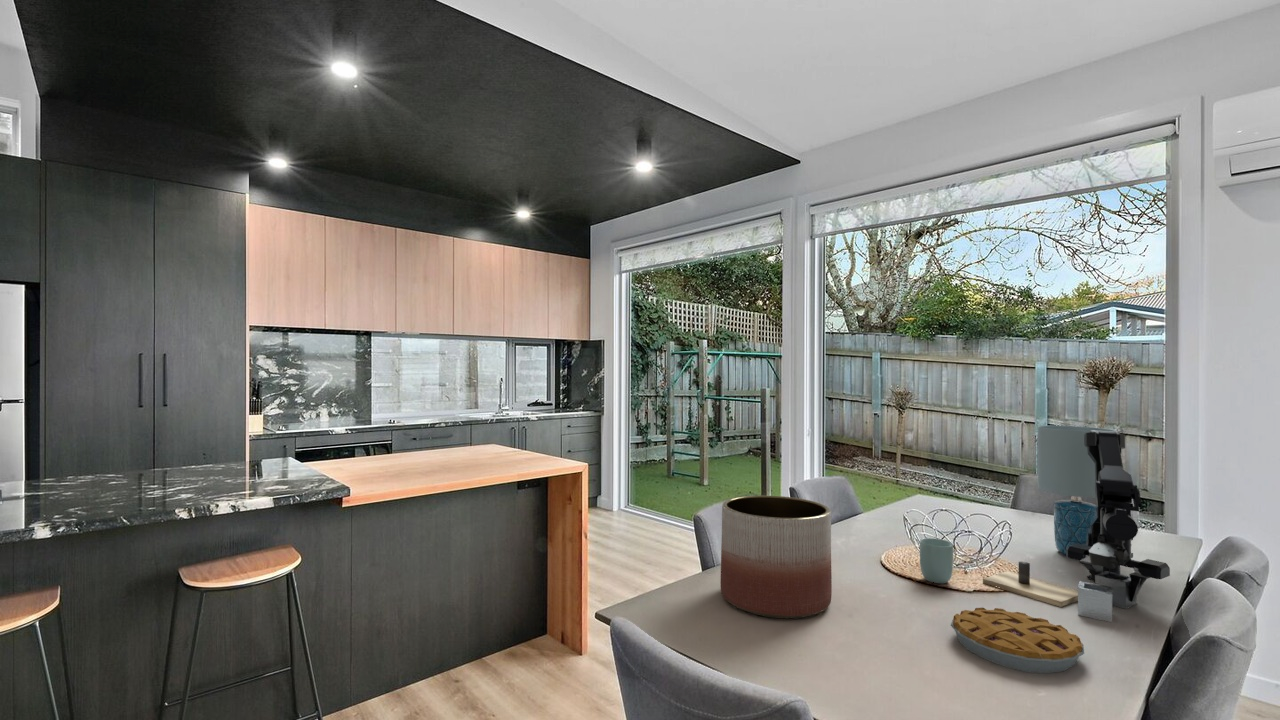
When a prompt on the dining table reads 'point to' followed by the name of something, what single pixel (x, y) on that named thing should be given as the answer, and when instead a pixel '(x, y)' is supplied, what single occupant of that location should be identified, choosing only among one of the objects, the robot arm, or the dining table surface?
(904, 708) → the dining table surface
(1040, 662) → the pie
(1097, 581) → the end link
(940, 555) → the cup
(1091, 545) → the robot arm
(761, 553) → the planter
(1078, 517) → the lamp
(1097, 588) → the grey open cube box
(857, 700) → the dining table surface
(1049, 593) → the board
